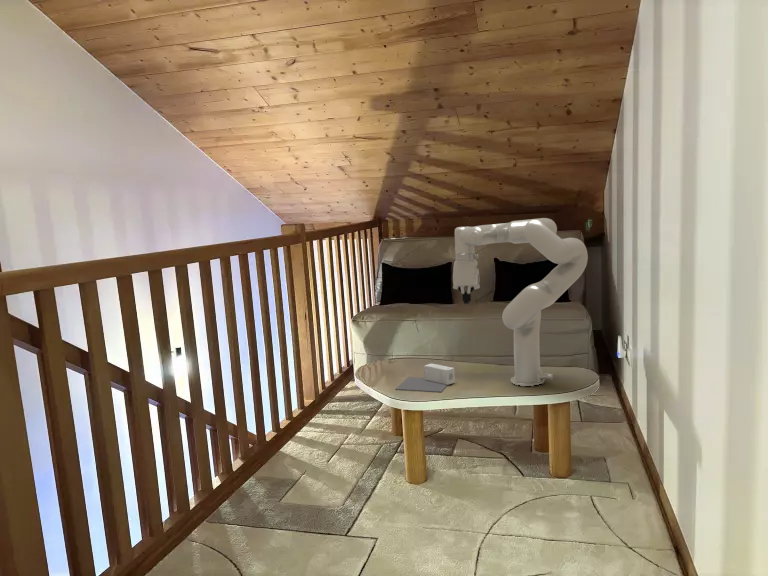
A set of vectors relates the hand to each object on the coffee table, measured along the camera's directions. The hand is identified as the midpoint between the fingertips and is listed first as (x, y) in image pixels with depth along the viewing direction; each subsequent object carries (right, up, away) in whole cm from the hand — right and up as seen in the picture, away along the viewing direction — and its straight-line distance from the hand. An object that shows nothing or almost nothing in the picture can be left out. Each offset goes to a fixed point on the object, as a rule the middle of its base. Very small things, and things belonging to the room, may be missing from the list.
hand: (466, 303), depth 232 cm
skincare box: (-7, -28, -11) cm, 31 cm away
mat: (-18, -32, -8) cm, 37 cm away
